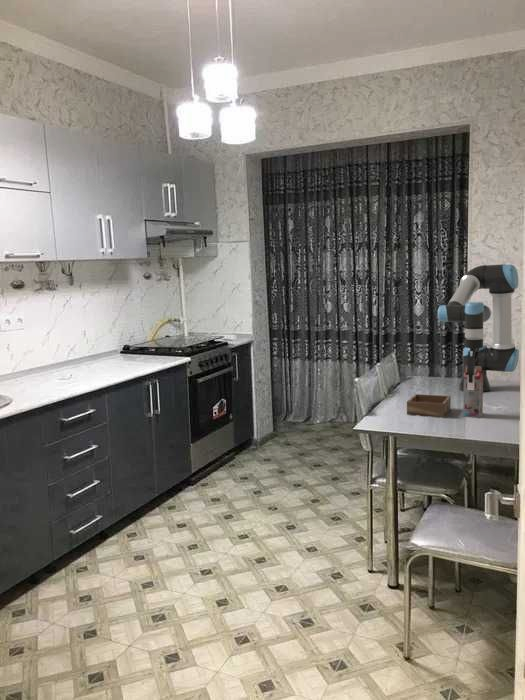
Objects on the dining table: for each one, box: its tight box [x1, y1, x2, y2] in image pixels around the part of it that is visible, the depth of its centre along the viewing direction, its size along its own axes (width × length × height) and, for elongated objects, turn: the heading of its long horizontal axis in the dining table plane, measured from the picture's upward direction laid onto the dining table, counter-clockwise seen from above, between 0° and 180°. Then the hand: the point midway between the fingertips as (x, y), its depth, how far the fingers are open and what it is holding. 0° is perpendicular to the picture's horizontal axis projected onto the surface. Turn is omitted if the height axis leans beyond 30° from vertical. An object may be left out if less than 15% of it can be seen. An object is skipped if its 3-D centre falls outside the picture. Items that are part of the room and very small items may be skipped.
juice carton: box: [462, 366, 484, 419], centre depth 256 cm, size 7×7×22 cm
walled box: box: [406, 393, 452, 418], centre depth 266 cm, size 16×16×6 cm
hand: (473, 387), depth 256 cm, fingers open, 13 cm apart
